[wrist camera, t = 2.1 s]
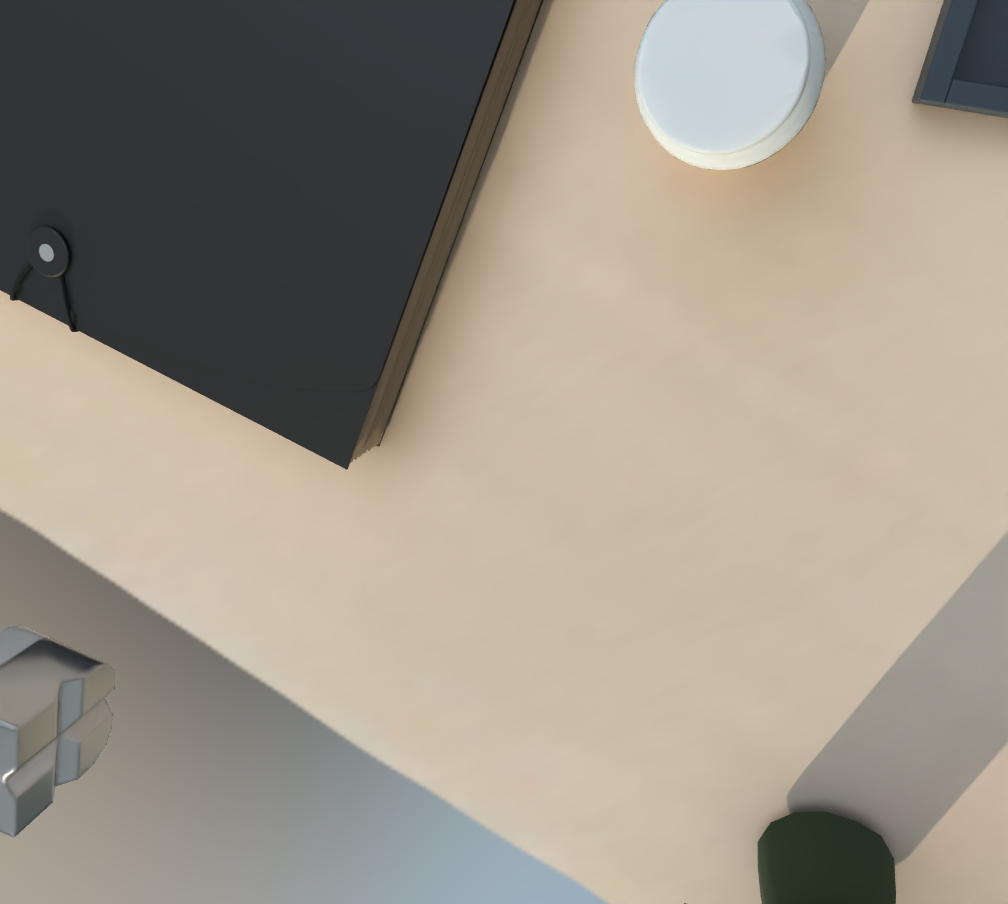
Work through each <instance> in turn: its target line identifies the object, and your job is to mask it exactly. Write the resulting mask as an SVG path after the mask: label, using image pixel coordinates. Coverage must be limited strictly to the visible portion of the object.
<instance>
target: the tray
mask: <svg viewBox="0 0 1008 904" xmlns="http://www.w3.org/2000/svg"><path fill="white" fill-rule="evenodd" d="M912 102H913V103H918V104H925V105H931V106H937V107H943V108H949V109H955V110H962V111H968V112H974V113H980V114H986V115H992V116H998V117H1005V118H1008V0H944V2H943V5H942V8H941V11H940V14H939V18H938V21H937V24H936V27H935V30H934V33H933V36H932V39H931V43H930V46H929V49H928V52H927V55H926V58H925V61H924V64H923V68H922V71H921V74H920V77H919V80H918V83H917V86H916V90H915V93H914V96H913V99H912Z"/></svg>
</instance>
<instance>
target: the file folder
mask: <svg viewBox="0 0 1008 904" xmlns="http://www.w3.org/2000/svg"><path fill="white" fill-rule="evenodd" d="M542 2H543V0H0V290H1V291H3V292H5V293H7V294H9V295H10V299H11V300H12V301H14V300H20V301H22V302H24V303H26V304H28V305H30V306H32V307H34V308H36V309H38V310H40V311H42V312H44V313H45V314H47V315H49V316H51V317H53V318H55V319H57V320H59V321H61V322H63V323H65V324H67V325H69V327H70V329H71V331H72V332H78V331H80V332H82V333H84V334H86V335H88V336H90V337H92V338H94V339H96V340H98V341H100V342H101V343H103V344H105V345H107V346H109V347H111V348H113V349H115V350H117V351H119V352H121V353H123V354H125V355H127V356H128V357H130V358H132V359H134V360H136V361H138V362H140V363H142V364H144V365H146V366H148V367H150V368H152V369H154V370H156V371H157V372H159V373H161V374H163V375H165V376H167V377H169V378H171V379H173V380H175V381H177V382H179V383H181V384H183V385H184V386H186V387H188V388H190V389H192V390H194V391H196V392H198V393H200V394H202V395H204V396H206V397H208V398H210V399H212V400H213V401H215V402H217V403H219V404H221V405H223V406H225V407H227V408H229V409H231V410H233V411H235V412H237V413H239V414H240V415H242V416H244V417H246V418H248V419H250V420H252V421H254V422H256V423H258V424H260V425H262V426H264V427H266V428H268V429H269V430H271V431H273V432H275V433H277V434H279V435H281V436H283V437H285V438H287V439H289V440H291V441H293V442H295V443H296V444H298V445H300V446H302V447H304V448H306V449H308V450H310V451H312V452H314V453H316V454H318V455H320V456H322V457H324V458H325V459H327V460H329V461H331V462H333V463H335V464H337V465H339V466H341V467H343V468H345V469H348V467H349V464H350V462H353V459H355V460H356V459H357V457H359V456H361V455H362V453H365V452H366V451H367V450H369V451H370V449H371V448H372V447H374V446H376V445H377V446H380V443H381V440H382V437H383V435H384V432H385V429H386V427H387V424H388V421H389V418H390V416H391V413H392V410H393V407H394V405H395V402H396V399H397V397H398V394H399V391H400V388H401V386H402V383H403V380H404V378H405V375H406V372H407V369H408V367H409V364H410V361H411V358H412V356H413V353H414V350H415V348H416V345H417V342H418V339H419V337H420V334H421V331H422V329H423V326H424V323H425V320H426V318H427V315H428V312H429V309H430V307H431V304H432V301H433V299H434V296H435V293H436V290H437V288H438V285H439V282H440V280H441V277H442V274H443V271H444V269H445V266H446V263H447V260H448V258H449V255H450V252H451V250H452V247H453V244H454V241H455V239H456V236H457V233H458V231H459V228H460V225H461V222H462V220H463V217H464V214H465V212H466V209H467V206H468V203H469V201H470V198H471V195H472V192H473V190H474V187H475V184H476V182H477V179H478V176H479V173H480V171H481V168H482V165H483V163H484V160H485V157H486V154H487V152H488V149H489V146H490V144H491V141H492V138H493V135H494V133H495V130H496V127H497V124H498V122H499V119H500V116H501V114H502V111H503V108H504V105H505V103H506V100H507V97H508V95H509V92H510V89H511V86H512V84H513V81H514V78H515V76H516V73H517V70H518V67H519V65H520V62H521V59H522V56H523V54H524V51H525V48H526V46H527V43H528V40H529V37H530V35H531V32H532V29H533V27H534V24H535V21H536V18H537V16H538V13H539V10H540V7H541V5H542Z"/></svg>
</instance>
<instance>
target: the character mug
mask: <svg viewBox="0 0 1008 904" xmlns="http://www.w3.org/2000/svg"><path fill="white" fill-rule="evenodd" d="M758 873H759V883H760V893H761V900H762V904H896V886H895V867H894V858H893V856H892V855H891V853H890V851H889V849H888V847H887V846H886V844H885V842H884V840H883V839H882V837H881V836H880V835H878V834H877V833H875V832H873V831H872V830H870V829H868V828H867V827H865V826H863V825H862V824H860V823H858V822H856V821H853V820H850V819H846V818H843V817H839V816H836V815H833V814H829V813H826V812H795V813H792V814H790V815H788V816H785V817H783V818H781V819H778V820H776V821H774V822H771V823H770V825H769V826H768V828H767V829H766V831H765V832H764V834H763V835H762V837H761V838H760V840H759V841H758Z"/></svg>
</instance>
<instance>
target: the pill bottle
mask: <svg viewBox="0 0 1008 904" xmlns="http://www.w3.org/2000/svg"><path fill="white" fill-rule="evenodd" d="M824 73H825V48H824V41H823V37H822V33H821V30H820V27H819V24H818V22H817V20H816V17H815V15H814V13H813V11H812V9H811V7H810V6H809V5H808V4H807V2H806V1H805V0H665V1H664V2H663V4H662V5H661V6H660V7H659V8H658V10H657V11H656V12H655V14H654V15H653V16H652V18H651V20H650V21H649V23H648V25H647V28H646V30H645V32H644V34H643V37H642V39H641V42H640V45H639V48H638V52H637V57H636V62H635V72H634V86H635V92H636V98H637V103H638V106H639V109H640V112H641V116H642V118H643V120H644V122H645V124H646V126H647V127H648V129H649V130H650V132H651V133H652V135H653V136H654V137H655V139H656V140H657V141H658V142H659V144H660V145H661V146H662V147H663V148H664V149H665V150H666V151H668V152H669V153H671V154H672V155H673V156H675V157H676V158H678V159H680V160H682V161H683V162H685V163H688V164H690V165H693V166H696V167H699V168H704V169H708V170H729V169H738V168H743V167H748V166H751V165H754V164H757V163H759V162H761V161H763V160H765V159H767V158H769V157H771V156H772V155H774V154H775V153H776V152H778V151H779V150H780V149H782V148H783V147H784V146H785V145H787V144H788V143H789V142H790V141H791V140H792V139H793V138H794V137H795V136H796V135H797V134H798V133H799V132H800V131H801V129H802V128H803V126H804V125H805V124H806V122H807V121H808V119H809V118H810V116H811V114H812V112H813V110H814V108H815V106H816V103H817V101H818V98H819V95H820V91H821V88H822V84H823V79H824Z"/></svg>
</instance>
